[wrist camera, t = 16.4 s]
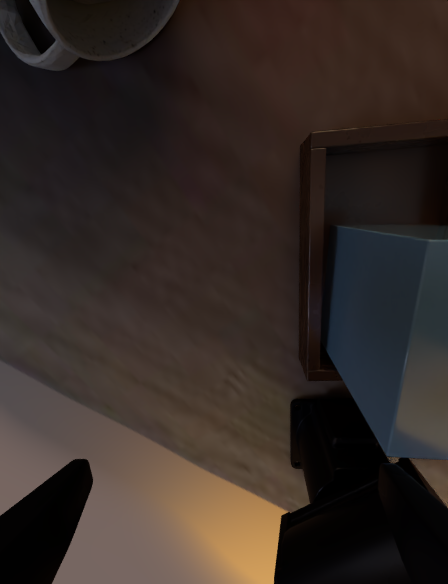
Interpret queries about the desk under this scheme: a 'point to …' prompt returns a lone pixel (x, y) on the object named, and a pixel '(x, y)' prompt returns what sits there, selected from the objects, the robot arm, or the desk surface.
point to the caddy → (362, 204)
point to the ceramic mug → (85, 29)
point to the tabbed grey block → (391, 330)
